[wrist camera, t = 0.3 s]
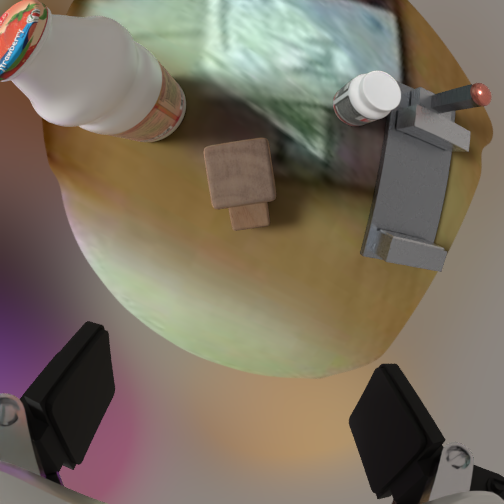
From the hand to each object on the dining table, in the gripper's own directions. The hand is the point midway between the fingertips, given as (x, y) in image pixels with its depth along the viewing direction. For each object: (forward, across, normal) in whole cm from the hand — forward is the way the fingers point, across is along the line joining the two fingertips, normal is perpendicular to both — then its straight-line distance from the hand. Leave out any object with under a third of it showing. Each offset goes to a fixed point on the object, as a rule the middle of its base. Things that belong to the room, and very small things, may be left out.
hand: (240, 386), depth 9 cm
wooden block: (+31, +1, -4) cm, 31 cm away
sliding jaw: (+29, -23, -20) cm, 42 cm away
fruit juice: (+31, +15, -13) cm, 36 cm away
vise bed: (+30, -23, -11) cm, 40 cm away
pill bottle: (+31, -11, -18) cm, 37 cm away
